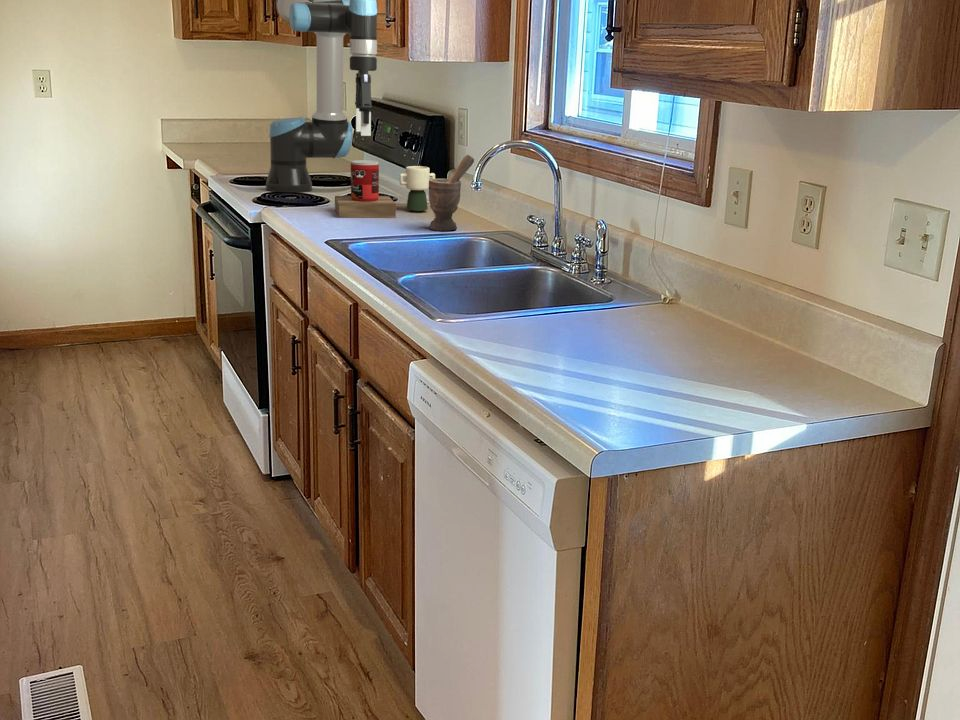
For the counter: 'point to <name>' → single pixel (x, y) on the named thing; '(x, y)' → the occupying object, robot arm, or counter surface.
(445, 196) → the mortar and pestle
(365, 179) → the canned food
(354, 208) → the walnut base
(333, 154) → the robot arm
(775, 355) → the counter surface
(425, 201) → the character mug
